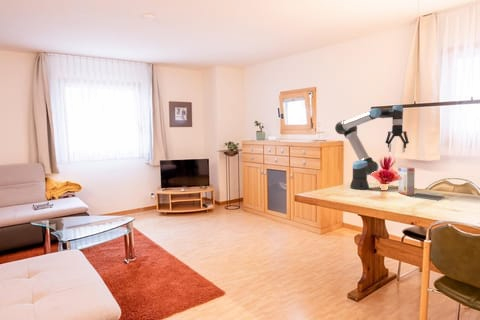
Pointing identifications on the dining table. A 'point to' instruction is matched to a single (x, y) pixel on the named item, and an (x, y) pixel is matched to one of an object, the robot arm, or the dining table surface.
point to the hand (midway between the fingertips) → (396, 152)
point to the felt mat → (427, 196)
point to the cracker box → (406, 180)
